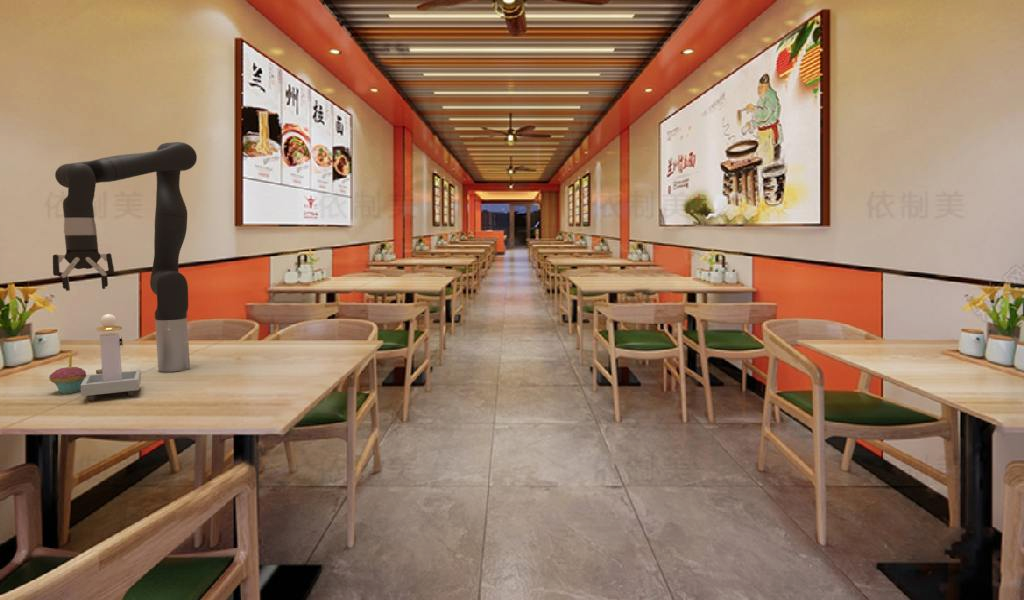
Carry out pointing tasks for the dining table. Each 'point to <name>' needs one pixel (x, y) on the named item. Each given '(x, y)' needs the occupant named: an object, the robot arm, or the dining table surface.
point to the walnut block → (99, 371)
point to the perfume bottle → (110, 349)
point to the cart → (110, 384)
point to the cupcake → (68, 378)
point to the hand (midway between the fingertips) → (86, 289)
